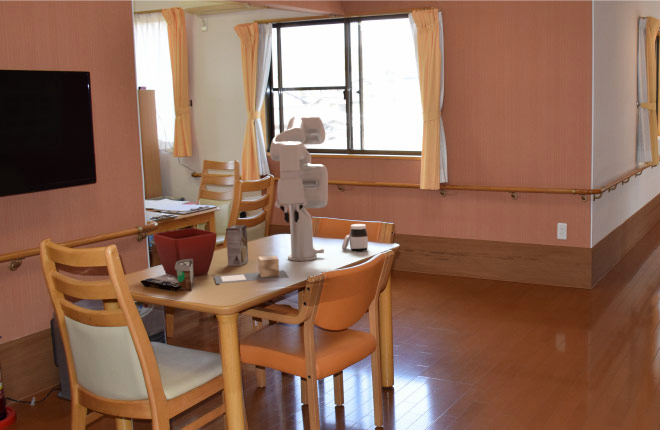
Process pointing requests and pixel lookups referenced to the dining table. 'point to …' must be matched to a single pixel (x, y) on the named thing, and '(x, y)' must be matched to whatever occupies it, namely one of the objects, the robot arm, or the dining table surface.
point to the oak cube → (268, 266)
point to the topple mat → (245, 277)
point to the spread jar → (357, 238)
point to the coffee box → (237, 245)
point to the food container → (185, 274)
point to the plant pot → (185, 249)
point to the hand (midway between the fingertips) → (291, 221)
